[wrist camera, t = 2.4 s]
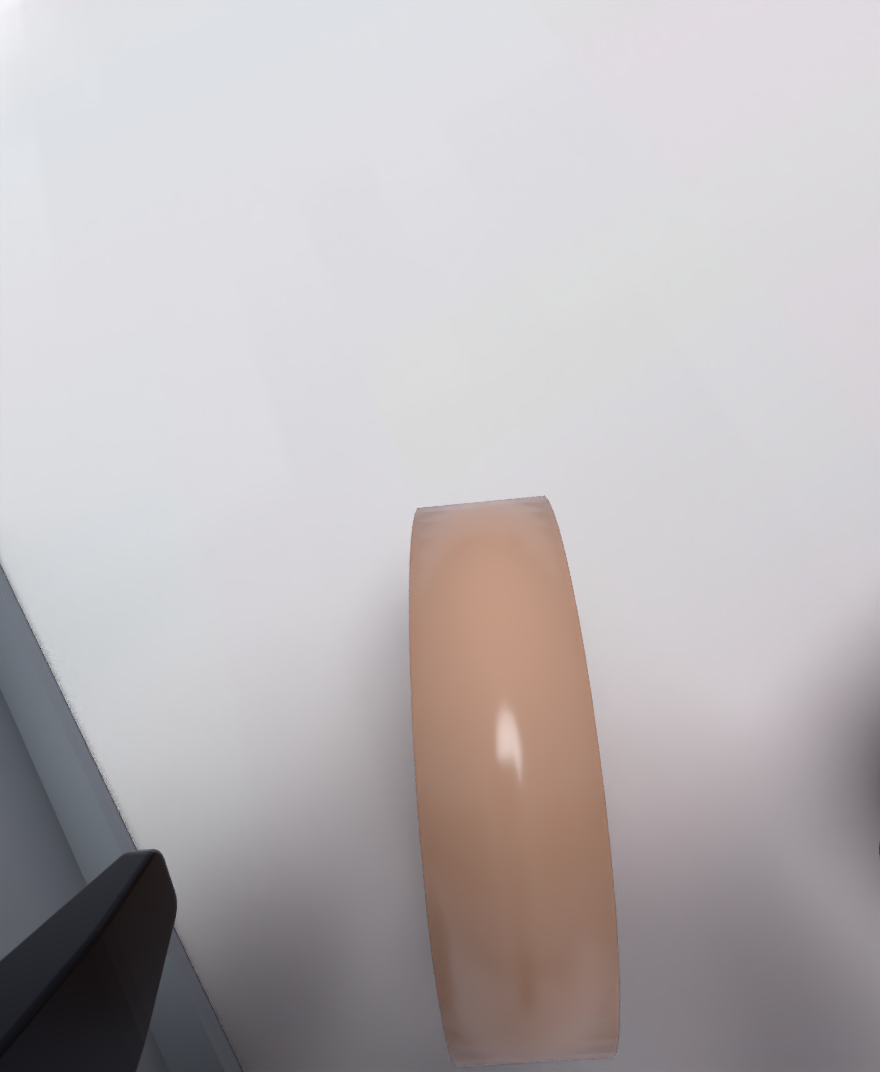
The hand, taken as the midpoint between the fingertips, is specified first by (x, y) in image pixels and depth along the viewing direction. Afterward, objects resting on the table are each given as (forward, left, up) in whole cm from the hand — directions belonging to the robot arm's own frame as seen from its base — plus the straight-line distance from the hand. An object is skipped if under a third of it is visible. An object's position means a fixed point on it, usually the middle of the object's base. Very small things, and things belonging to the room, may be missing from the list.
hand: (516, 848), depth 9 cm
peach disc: (+1, +1, -9) cm, 9 cm away
